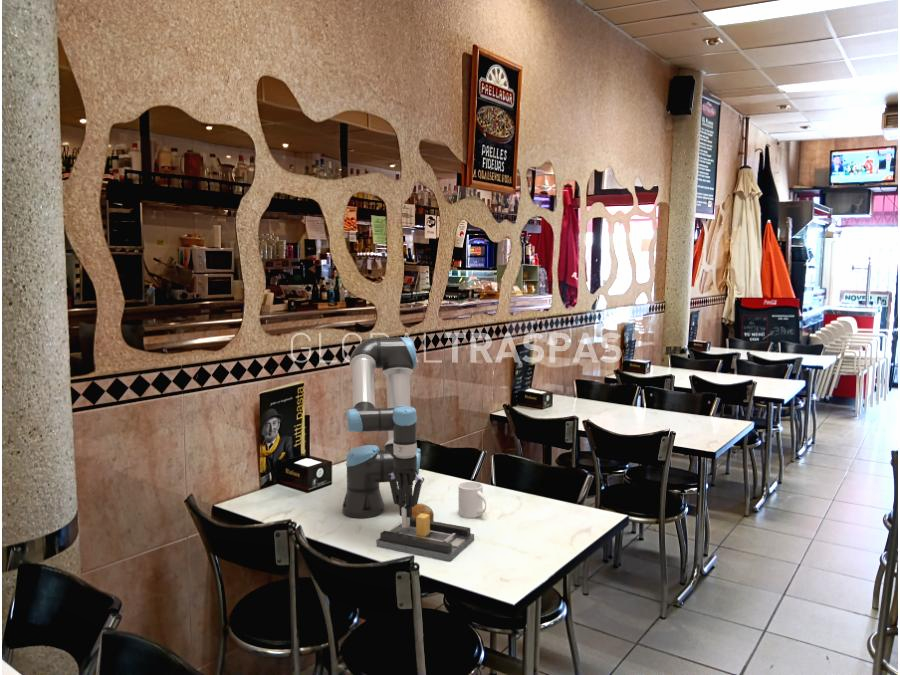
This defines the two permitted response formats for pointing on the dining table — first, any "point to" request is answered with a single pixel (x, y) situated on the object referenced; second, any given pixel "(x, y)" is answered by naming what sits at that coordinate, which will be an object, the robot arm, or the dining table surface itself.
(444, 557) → the panel
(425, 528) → the lever
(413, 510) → the bread roll
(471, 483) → the mug
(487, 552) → the dining table surface
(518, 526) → the dining table surface
